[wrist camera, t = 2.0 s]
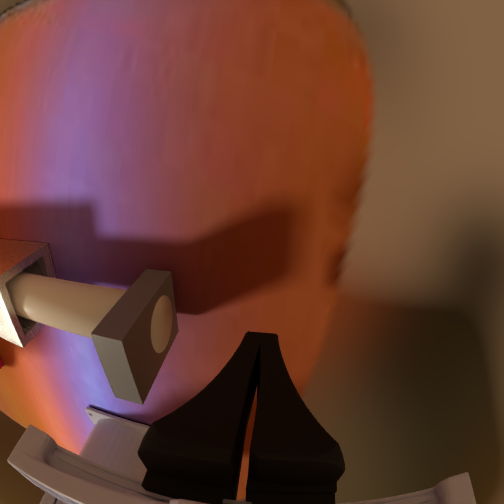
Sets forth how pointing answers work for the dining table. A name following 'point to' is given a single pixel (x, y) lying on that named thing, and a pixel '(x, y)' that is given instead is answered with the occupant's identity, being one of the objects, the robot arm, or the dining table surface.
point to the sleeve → (6, 267)
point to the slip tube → (108, 322)
